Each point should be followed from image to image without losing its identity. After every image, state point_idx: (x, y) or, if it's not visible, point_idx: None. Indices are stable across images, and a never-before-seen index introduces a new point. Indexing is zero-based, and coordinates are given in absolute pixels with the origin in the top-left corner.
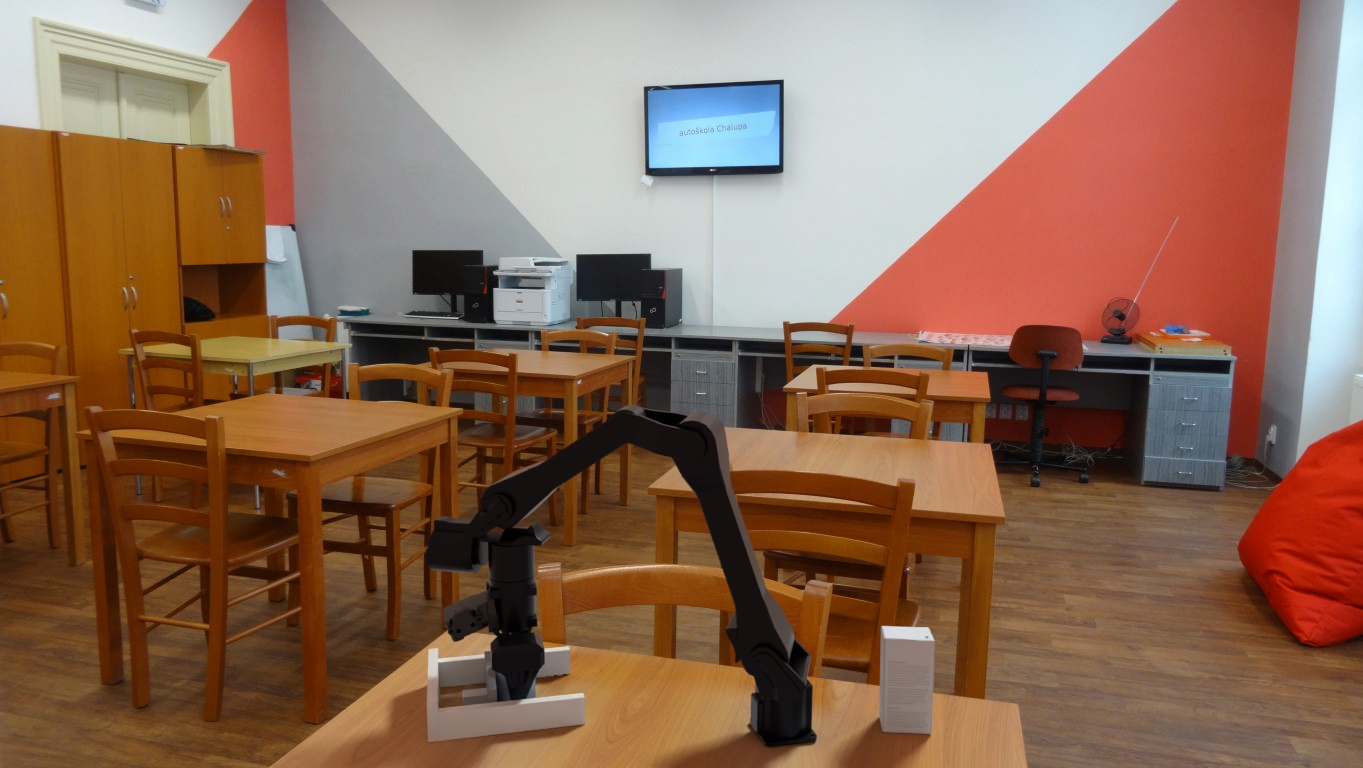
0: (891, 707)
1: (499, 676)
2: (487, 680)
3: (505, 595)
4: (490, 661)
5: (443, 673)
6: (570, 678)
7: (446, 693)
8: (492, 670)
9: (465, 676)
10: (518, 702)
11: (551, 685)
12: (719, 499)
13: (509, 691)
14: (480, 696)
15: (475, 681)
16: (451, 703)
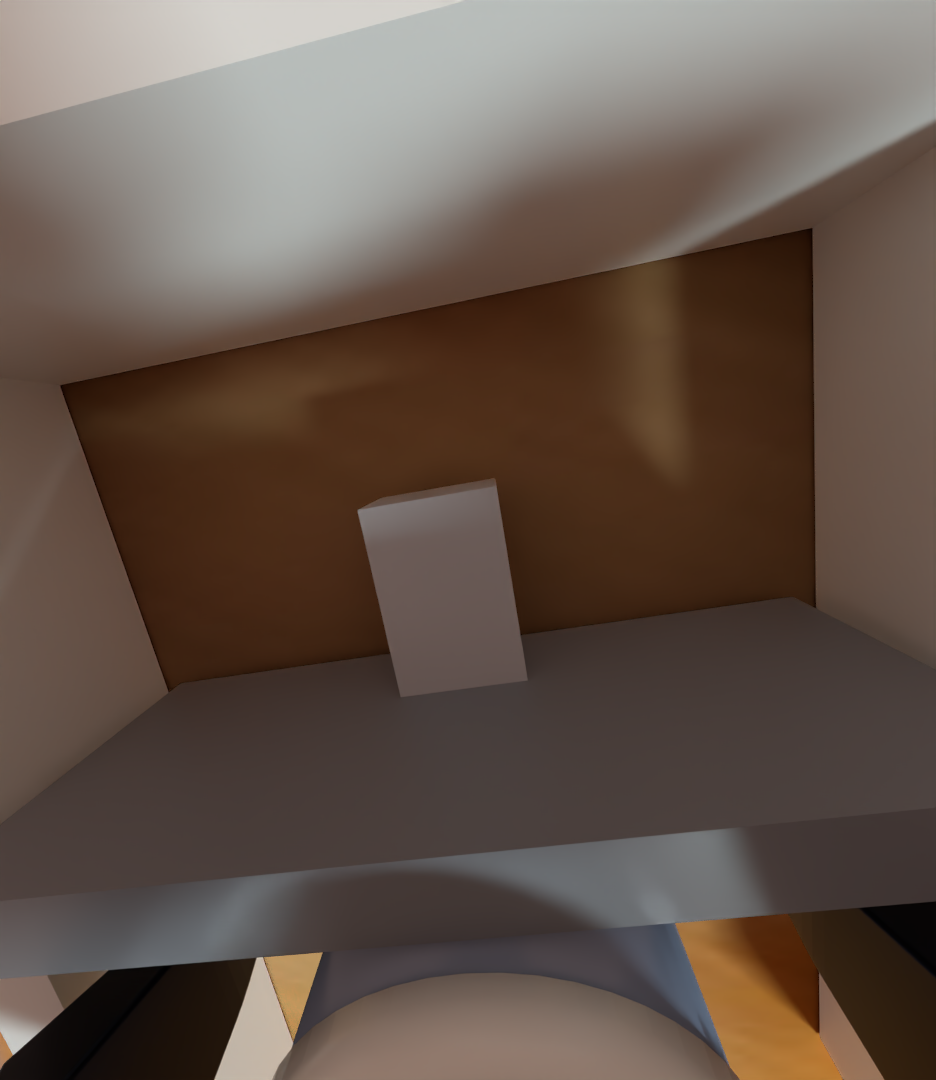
0: None
1: (347, 958)
2: (159, 886)
3: None
4: (739, 885)
5: (929, 207)
6: (765, 1033)
7: (693, 316)
8: (435, 926)
9: (873, 450)
10: (21, 1020)
11: (694, 951)
12: None
13: (43, 1034)
14: (390, 646)
15: (828, 524)
16: (519, 388)
